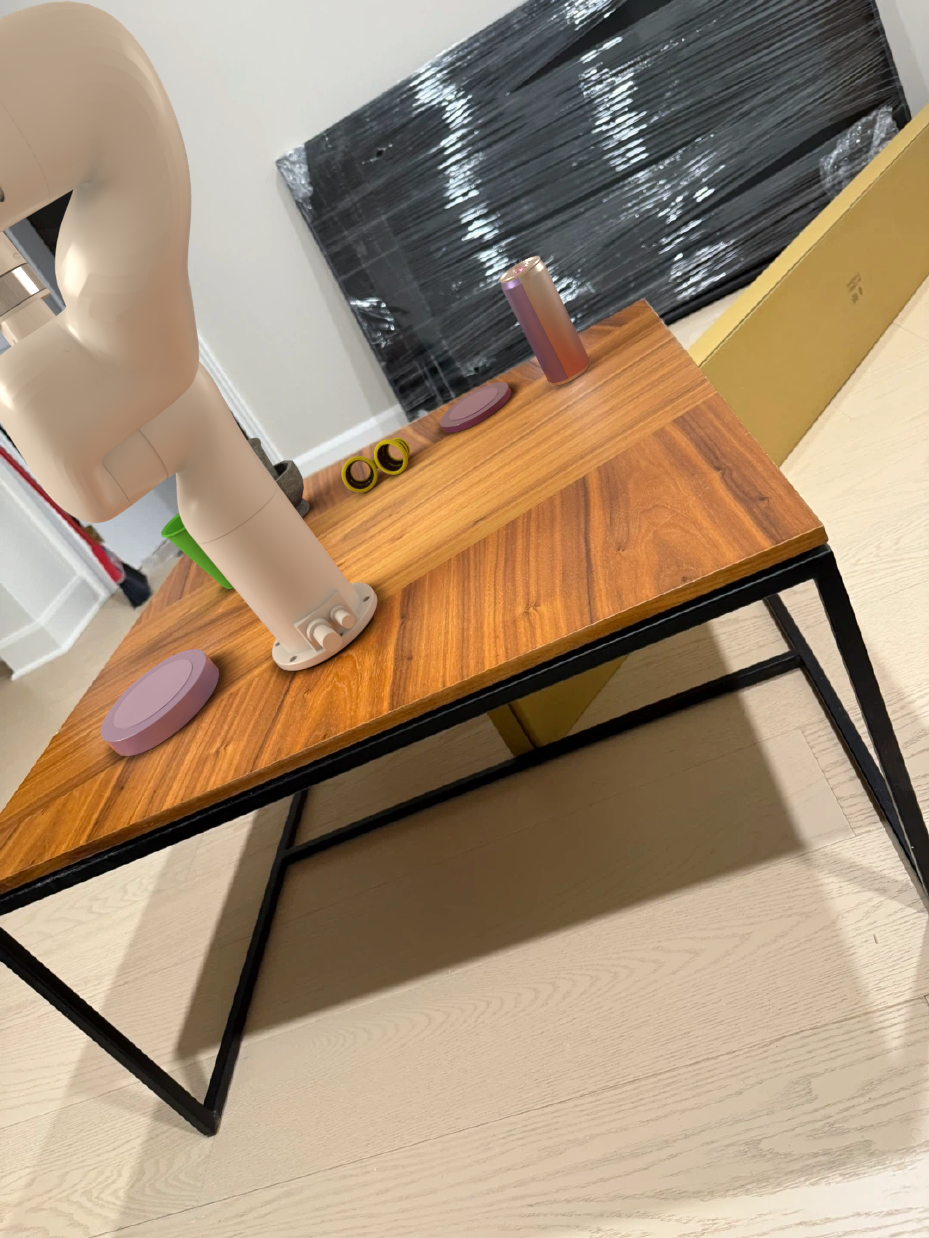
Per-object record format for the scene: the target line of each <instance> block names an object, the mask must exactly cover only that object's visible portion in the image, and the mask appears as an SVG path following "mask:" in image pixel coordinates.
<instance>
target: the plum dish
mask: <svg viewBox="0 0 929 1238" xmlns="http://www.w3.org/2000/svg"><path fill="white" fill-rule="evenodd" d="M511 395H512V390H511V388H510V385H508V383H507V382H505V381H498V382H492V383H489V384H486V385H483V386H482V387H480V388H478V389H475V390H474V391H472V392H470V393H468V394H466V395H465V396H463V397H462V398H461V399H459V400H457V401H456V402H455V403H453V404H452V405H451V406H450V407H449V408H448V409H447V410H446V411H445V412H444V414H443V415H442V416H441V417H440V420H439V426H440V428H441V429H442V430H443V432H444V433H447V434H454V433H458V432H462V431H464V430H467V429H470V428H472V427H474V426H476V425H479V424H480V423H481V422H483V421H485V420H486V419H488V418H489V417H491V416H493V415H494V414H495V413H496V412H497V411H499V410H500V409H502V407H503V406H504V405H505V404H506V403H507V402H508V401H509V399H510V397H511Z"/></svg>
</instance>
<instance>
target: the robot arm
mask: <svg viewBox="0 0 929 1238" xmlns="http://www.w3.org/2000/svg"><path fill="white" fill-rule="evenodd" d="M168 95H169V94H168V93H167V90H166V88H165V86H164V84H163V81H162V80H161V77H160V76H159V74H158V71H157V69H156V68H155V66H154V65H153V63H152V61H151V59H150V58H149V56H148V55H147V53H146V52H145V50H144V48H143V46H141V44H140V43H139V42H138V40H137V39H136V37H135V36H134V34H132V33H131V32H130V30H128V29H127V27H126V26H125V25H123V23H121V22H120V21H119V20H118V19H117V18H116V17H114V16H113V15H112V14H110V13H108V12H107V11H105V10H103V9H101V8H99V7H96V6H93V5H92V4H89V3H83V2H77V1H69V0H68V1H67V0H66V1H65V0H64V1H52V2H51V1H50V2H46V3H41V4H36V5H31V6H29V7H25V8H22V9H20V10H17V11H14V12H11V13H8V14H6V15H4V16H2V17H0V333H1V335H2V336H3V337H4V338H5V340H6V341H7V343H8V344H9V345H10V347H9V348H7V349H6V350H5V351H4V352H2V353H1V354H0V424H1V425H2V427H3V428H4V430H5V431H6V433H7V435H8V437H10V439H11V441H12V443H13V444H14V446H15V448H16V449H17V451H18V452H19V454H20V455H21V457H22V458H23V460H24V461H25V463H26V465H27V466H28V468H29V470H30V471H31V473H32V474H33V476H34V477H35V479H36V480H37V482H38V484H39V485H40V487H41V488H42V489H43V490H44V492H45V493H46V494H47V495H48V496H49V498H51V500H52V501H53V502H54V503H55V504H56V505H57V506H59V507H60V508H61V509H62V510H64V512H66V513H68V514H69V515H71V516H72V517H73V518H76V519H78V520H80V521H83V522H85V523H91V524H100V523H105V522H108V521H110V520H113V519H114V518H116V517H118V516H119V515H121V514H123V512H125V511H126V510H128V509H129V508H131V507H132V506H133V505H134V504H136V503H137V502H138V501H140V500H141V499H142V498H143V497H145V496H146V495H147V494H148V493H150V492H151V491H153V490H154V489H155V488H157V486H159V485H161V484H162V483H163V482H165V480H168V479H170V478H171V477H172V476H174V475H175V481H176V502H177V509H178V513H179V514H180V517H181V520H182V522H183V524H184V526H185V528H186V530H187V531H188V533H189V534H190V535H191V536H192V538H193V539H194V540H195V541H196V542H197V544H198V545H199V546H200V547H201V549H202V550H203V551H204V552H205V553H206V555H207V556H208V557H209V558H210V559H211V561H212V562H213V563H214V564H215V565H216V567H217V568H218V569H219V570H220V572H221V573H222V574H223V575H224V576H225V578H226V579H227V580H228V581H229V582H230V584H231V585H232V586H233V587H234V588H233V589H234V590H235V591H236V592H237V593H238V595H239V596H240V598H242V600H243V601H244V602H245V603H246V604H247V606H248V607H249V608H250V609H251V610H252V612H253V613H254V614H255V615H256V617H257V618H258V619H259V620H260V621H261V623H262V624H263V625H264V626H265V628H266V629H267V630H268V632H269V633H270V634H271V635H272V636H273V637H274V638H275V640H274V643H273V645H272V649H271V656H272V660H273V661H274V663H276V665H277V666H278V667H279V668H280V669H282V670H284V671H290V672H293V671H300V670H301V671H302V670H306V669H308V668H311V667H314V666H317V665H318V664H321V663H322V662H324V661H327V660H328V659H330V658H331V657H333V656H334V655H336V654H338V653H339V652H340V651H342V650H343V649H344V648H346V647H347V646H348V645H349V644H350V643H352V641H354V640H355V639H356V638H357V637H358V636H359V635H360V634H361V633H362V632H363V631H364V629H365V628H366V627H367V625H368V624H369V622H370V621H371V619H372V618H373V616H374V615H375V611H376V609H377V606H378V596H377V594H376V592H375V591H374V589H373V588H372V587H371V586H370V585H369V584H368V583H365V582H357V581H356V582H350V581H349V579H347V577H346V576H345V574H344V573H343V571H342V570H341V569H340V567H339V566H338V565H337V564H336V563H335V561H334V559H333V558H332V557H331V555H330V553H328V551H327V549H325V547H324V546H323V545H322V543H321V542H320V540H319V539H318V538H317V536H316V535H315V534H314V532H313V531H312V530H311V528H310V527H309V525H308V523H306V521H305V519H304V518H303V517H301V516H300V515H299V513H298V512H297V510H296V509H295V508H294V506H293V505H292V504H291V502H290V501H289V500H288V498H287V497H286V495H285V494H284V493H283V491H282V490H281V489H280V487H279V486H278V485H277V483H276V481H275V480H274V479H273V477H272V476H271V475H270V473H269V472H268V470H267V469H266V468H265V466H264V465H263V463H262V462H261V461H260V459H259V458H258V456H257V455H256V453H255V452H254V451H253V449H252V447H251V446H250V444H249V443H248V441H247V440H248V439H247V438H246V437H245V435H244V433H243V432H242V429H240V426H239V424H238V423H237V421H236V419H235V418H234V415H233V414H232V412H231V410H230V408H229V406H228V404H227V402H226V400H225V398H224V396H223V393H222V392H221V390H220V388H219V386H218V385H217V383H216V381H215V379H214V378H213V376H212V375H211V373H210V372H209V371H208V369H207V368H206V367H205V365H203V363H202V362H201V361H200V343H199V335H198V327H197V321H196V313H195V308H194V300H193V294H192V287H191V282H190V278H189V277H190V276H189V245H190V234H191V223H192V222H191V221H192V184H191V182H192V181H191V173H190V172H191V171H190V167H189V161H188V160H189V159H188V154H187V149H186V146H185V142H184V137H183V134H182V131H181V127H180V125H179V121H178V118H177V116H176V113H175V110H174V107H173V104H172V103H171V102H172V101H171V99H170V98H169V96H168ZM70 192H72V193H71V196H70V199H69V202H68V205H67V206H66V210H65V212H64V215H63V218H62V221H61V224H60V227H59V231H58V237H57V241H56V248H55V258H54V273H55V277H56V283H57V288H58V289H59V292H60V295H61V297H62V300H63V302H64V305H65V307H64V309H63V310H62V311H60V313H58V314H57V315H56V314H55V312H54V311H53V310H52V309H51V308H50V306H49V305H48V304H47V303H46V302H45V299H47V298H48V297H49V296H50V295H52V292H51V291H50V289H49V288H48V287H47V285H46V284H45V283H44V281H43V280H42V279H41V278H40V277H39V275H38V274H37V273H36V272H35V270H34V269H33V268H32V266H31V265H30V264H29V263H28V262H27V260H26V259H25V258H24V257H23V255H22V254H21V253H20V252H19V250H18V249H17V247H15V246H14V244H13V242H11V240H10V239H9V238H8V236H7V235H6V234H5V233H4V232H5V231H6V230H7V229H9V228H11V227H13V226H14V225H16V224H17V223H19V222H21V221H22V220H24V219H26V218H27V217H29V216H31V215H33V214H34V213H36V212H38V211H39V210H41V209H43V208H44V207H46V206H48V205H50V204H51V203H53V202H55V201H56V200H58V199H60V198H62V197H63V196H65V195H66V194H68V193H70Z"/></svg>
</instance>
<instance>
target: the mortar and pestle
mask: <svg viewBox="0 0 929 1238" xmlns="http://www.w3.org/2000/svg"><path fill="white" fill-rule="evenodd" d="M246 440H247V441H248V443H249V444H250V446H251V447H252V449H253V451H254V452H255V453H256V455H257V456H258V458H259V459H260V461H261V462H262V463H263V465H264V466H265V468H266V469H267V470H268V472H269V473H270V475H271V476H272V477H273V479H274V480H275V481H276V483H277V485H278V486H279V487H280V489H281V490H282V491H283V493H284V494H285V495H286V497H287V498H288V500H289V501H290V502H291V504H292V505H293V506H294V508H295V509H296V510H297V512H298V513H299V515H300V516H301V517H302V518H303V517H305V516H306V514H307V513H308V512H309V510H310V504H309V503H308V501H306V499H305V498H303V495H304V490H305V484H304V479H303V475H302V473H301V471H300V469H299V467H298V466H297V464H296V463H295V462H294V460H292V459H289V460H287V459H286V460H285V459H284V460H282V461H280V462H277V463H275V464H273V463H272V461H271V460H270V458H269V456H268V454H267V453H266V451H265V450H264V448H263V446H262V440H261V439H260V438H259V437H252V438H249V439H246Z"/></svg>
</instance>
